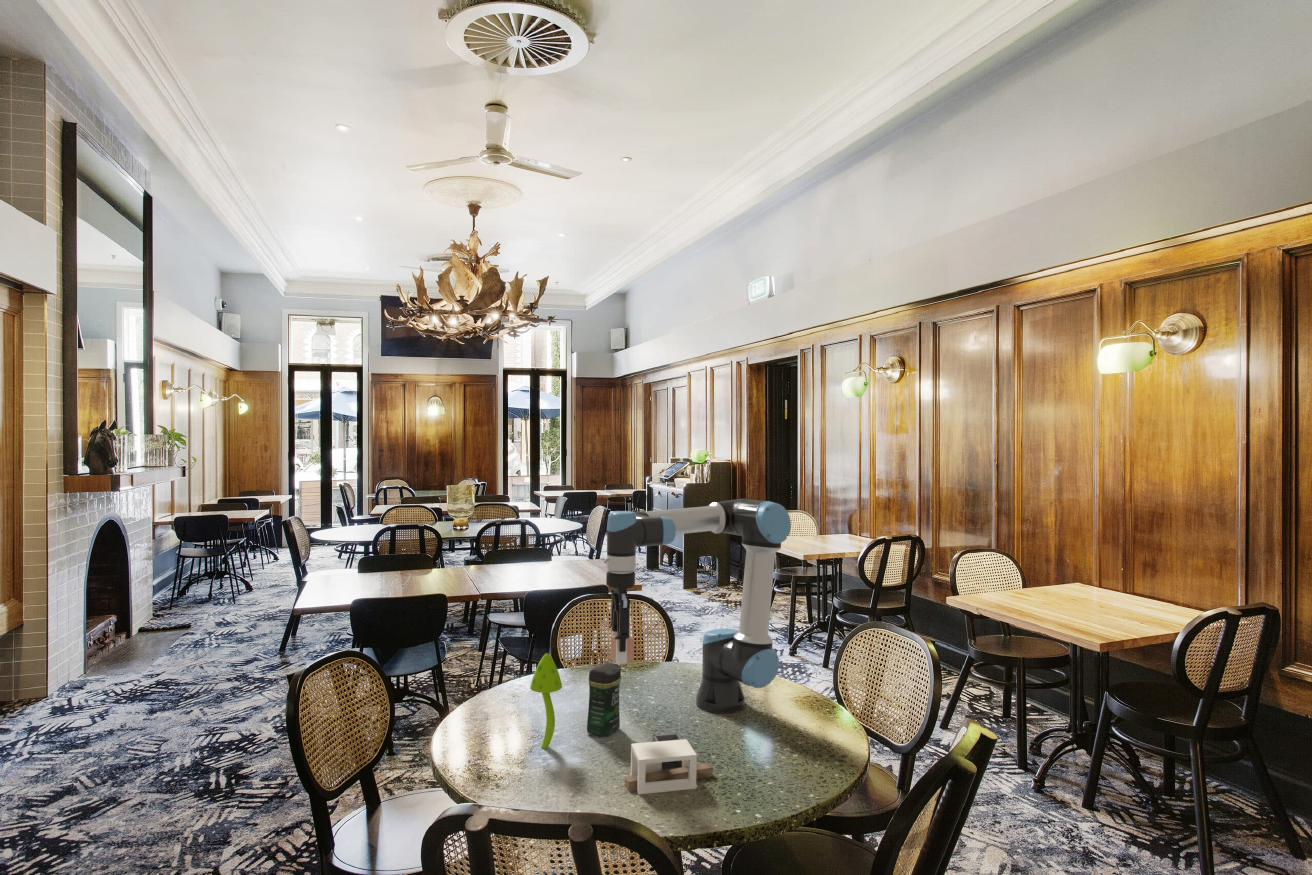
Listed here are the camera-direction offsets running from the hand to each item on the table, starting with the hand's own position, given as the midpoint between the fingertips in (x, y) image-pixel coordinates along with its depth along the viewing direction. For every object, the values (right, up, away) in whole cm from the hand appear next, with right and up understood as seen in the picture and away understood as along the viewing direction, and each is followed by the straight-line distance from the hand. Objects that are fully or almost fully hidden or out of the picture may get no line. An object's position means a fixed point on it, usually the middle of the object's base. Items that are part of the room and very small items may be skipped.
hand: (619, 659), depth 185 cm
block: (+1, 0, 0) cm, 1 cm away
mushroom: (-20, -24, +4) cm, 32 cm away
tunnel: (+11, -25, -12) cm, 29 cm away
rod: (+13, -25, -14) cm, 32 cm away
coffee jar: (-5, -25, +14) cm, 29 cm away
